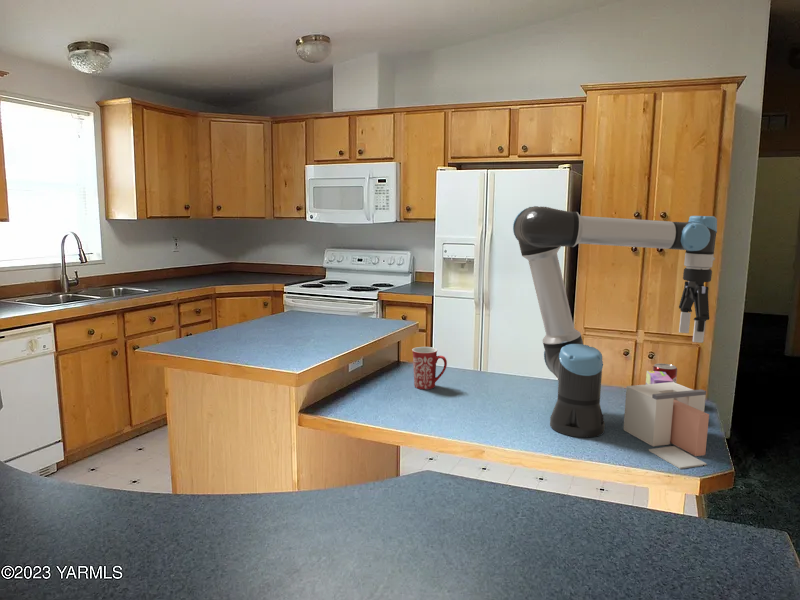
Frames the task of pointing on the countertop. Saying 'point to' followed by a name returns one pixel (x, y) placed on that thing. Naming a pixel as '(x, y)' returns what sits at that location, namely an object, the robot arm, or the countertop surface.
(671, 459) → the mat
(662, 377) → the box
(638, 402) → the dispenser
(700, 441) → the salmon pink slab
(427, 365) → the mug
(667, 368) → the soda can
